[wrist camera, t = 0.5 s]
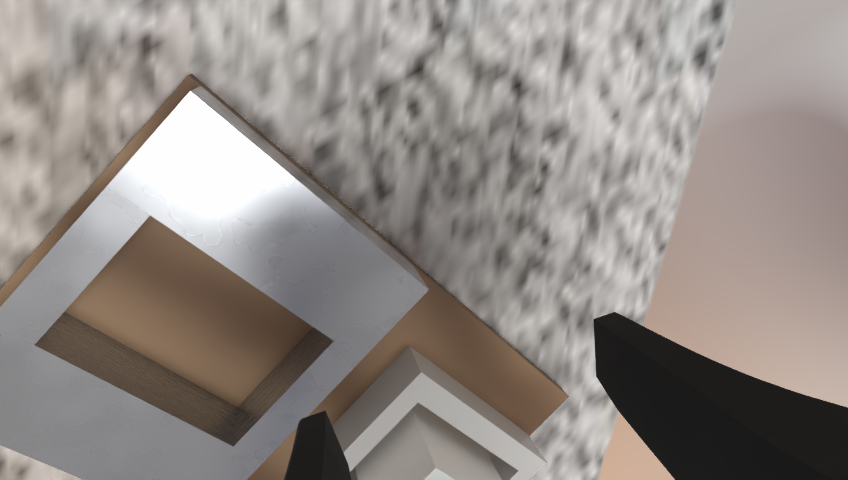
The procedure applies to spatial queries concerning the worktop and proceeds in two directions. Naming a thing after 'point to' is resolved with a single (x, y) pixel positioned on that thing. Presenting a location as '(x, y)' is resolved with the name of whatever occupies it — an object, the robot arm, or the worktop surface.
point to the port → (235, 249)
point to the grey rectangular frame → (446, 399)
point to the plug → (426, 452)
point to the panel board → (272, 319)
